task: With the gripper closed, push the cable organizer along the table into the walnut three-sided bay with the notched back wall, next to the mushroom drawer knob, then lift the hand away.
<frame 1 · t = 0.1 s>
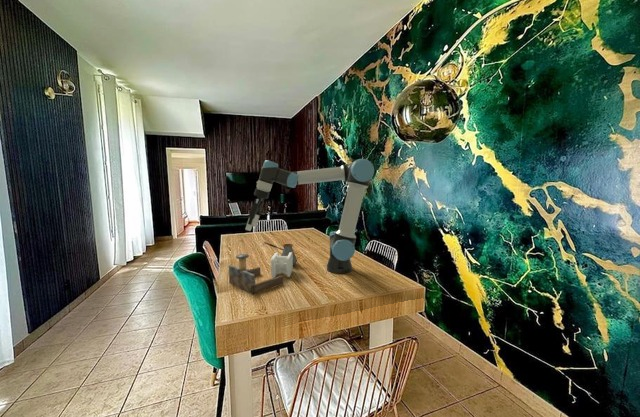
hand: (250, 228, 138), 28 cm above the table, tool tilted 20°, fingers open, 13 cm apart
mushroom drawer knob: (242, 272, 151), on the table
cable organizer: (282, 275, 147), on the table
coffee pot: (280, 265, 165), on the table
notched bay: (256, 283, 135), on the table
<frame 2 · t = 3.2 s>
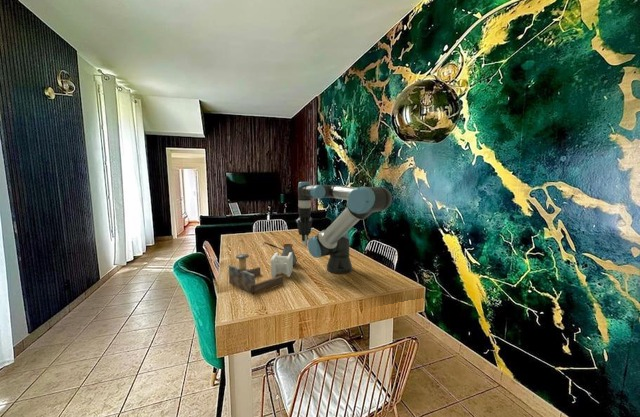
hand: (304, 245, 159), 13 cm above the table, tool pointing down, fingers closed
nothing on the table moved.
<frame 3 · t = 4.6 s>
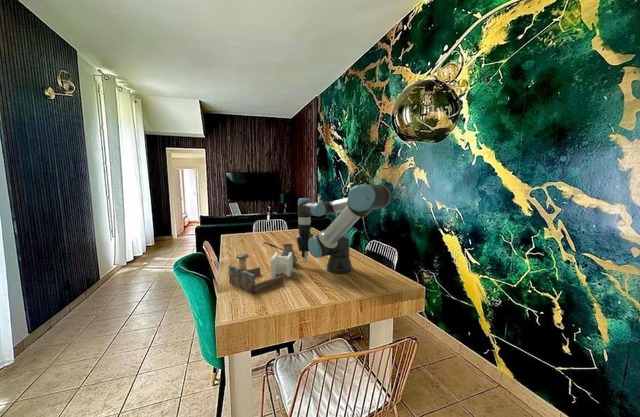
hand: (304, 261, 160), 3 cm above the table, tool pointing down, fingers closed
nothing on the table moved.
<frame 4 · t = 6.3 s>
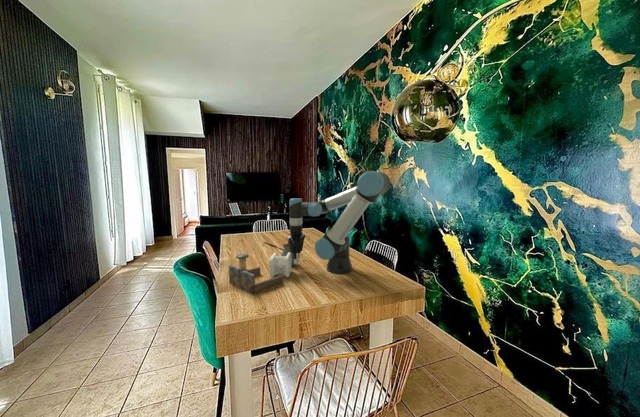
hand: (296, 263, 155), 4 cm above the table, tool pointing down, fingers closed
cable organizer: (280, 275, 146), on the table, touching gripper, hand
everything else where it was.
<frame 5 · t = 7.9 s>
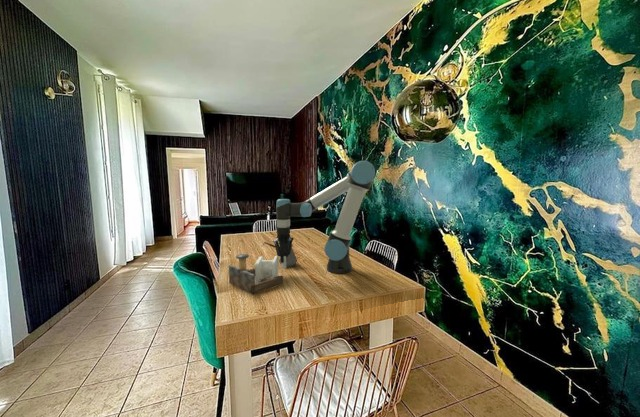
hand: (283, 267, 148), 4 cm above the table, tool pointing down, fingers closed
cable organizer: (267, 280, 139), on the table, touching gripper, hand
everything else where it was.
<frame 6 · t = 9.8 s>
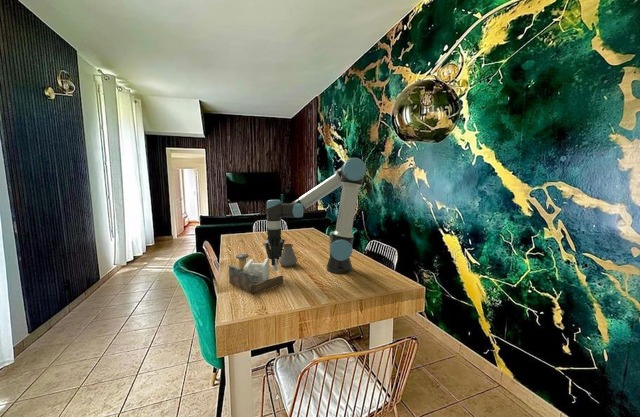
hand: (275, 270, 143), 4 cm above the table, tool pointing down, fingers closed
cable organizer: (257, 283, 134), on the table, touching gripper, hand, notched bay
everything else where it was.
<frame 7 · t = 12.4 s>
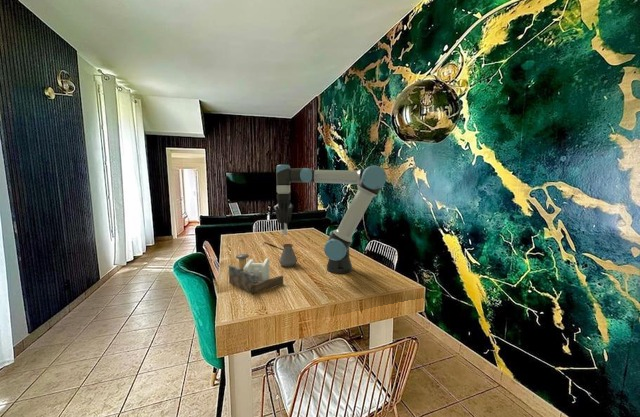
hand: (284, 235, 147), 22 cm above the table, tool pointing down, fingers closed
cable organizer: (257, 283, 134), on the table
everything else where it was.
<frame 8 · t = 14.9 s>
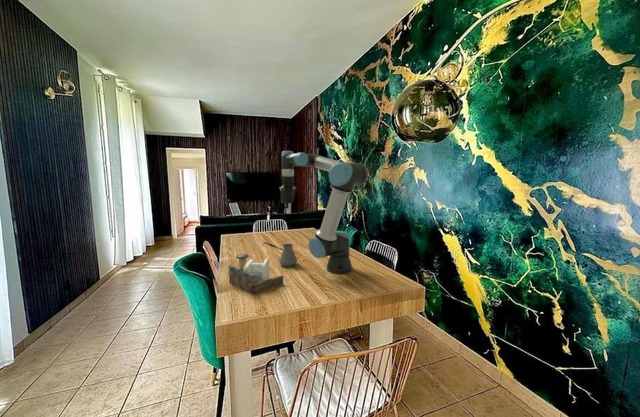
hand: (288, 213, 166), 32 cm above the table, tool pointing down, fingers closed
nothing on the table moved.
at the end: cable organizer inside the target area on the notched bay (0.9 cm from its centre), point 0.0 cm above the notched bay's base; cable organizer tilted 0°; the gripper is holding nothing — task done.
